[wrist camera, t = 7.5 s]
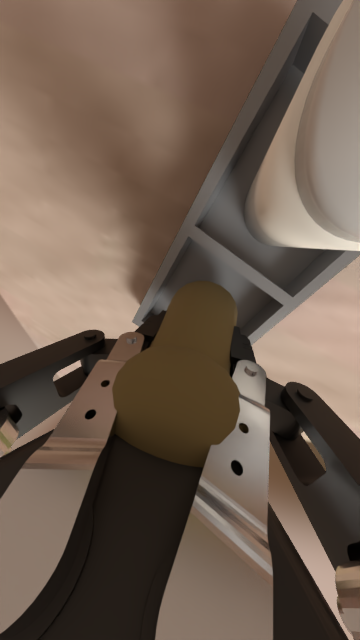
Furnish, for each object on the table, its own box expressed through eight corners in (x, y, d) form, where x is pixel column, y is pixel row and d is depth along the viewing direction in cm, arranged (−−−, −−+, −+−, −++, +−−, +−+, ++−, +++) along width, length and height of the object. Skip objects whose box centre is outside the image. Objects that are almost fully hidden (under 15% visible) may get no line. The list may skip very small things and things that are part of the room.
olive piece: (157, 310, 15) (33, 435, 5) (204, 264, 12) (127, 348, 2) (199, 352, 16) (162, 525, 6) (253, 319, 13) (345, 545, 3)
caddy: (288, 48, 9) (316, -37, 6) (427, 163, 9) (508, 132, 7) (144, 310, 19) (131, 321, 16) (214, 358, 19) (213, 376, 17)
